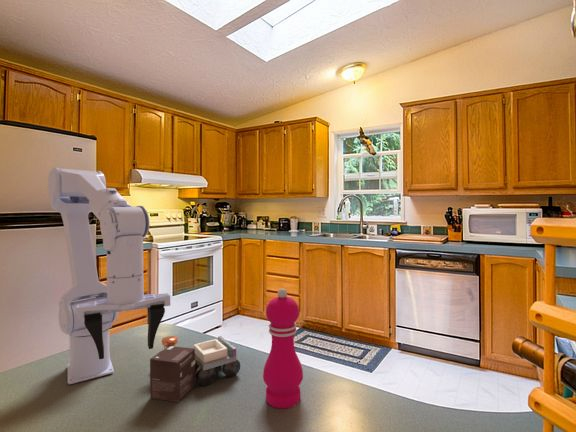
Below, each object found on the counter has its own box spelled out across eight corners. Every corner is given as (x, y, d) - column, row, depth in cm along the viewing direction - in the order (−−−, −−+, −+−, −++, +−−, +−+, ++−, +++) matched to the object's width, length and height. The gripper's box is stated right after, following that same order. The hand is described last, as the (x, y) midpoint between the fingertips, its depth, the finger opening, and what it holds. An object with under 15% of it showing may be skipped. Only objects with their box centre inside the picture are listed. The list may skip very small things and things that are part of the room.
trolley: (185, 371, 67) (185, 344, 67) (225, 360, 73) (224, 334, 73) (198, 388, 61) (198, 358, 61) (240, 374, 66) (240, 347, 66)
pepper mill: (297, 385, 62) (297, 283, 62) (307, 407, 55) (307, 292, 55) (260, 389, 60) (259, 285, 60) (266, 413, 53) (265, 294, 53)
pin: (160, 369, 68) (160, 338, 68) (175, 365, 70) (175, 334, 70) (164, 375, 66) (163, 343, 66) (179, 371, 68) (179, 339, 68)
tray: (193, 351, 67) (193, 344, 67) (216, 346, 70) (216, 338, 70) (203, 362, 63) (203, 354, 63) (227, 356, 65) (227, 348, 65)
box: (178, 403, 56) (178, 362, 56) (149, 398, 58) (148, 358, 58) (196, 385, 62) (195, 348, 62) (169, 381, 64) (168, 345, 64)
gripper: (74, 284, 49) (75, 372, 49) (173, 274, 56) (173, 350, 56) (77, 276, 55) (79, 354, 55) (166, 268, 62) (167, 337, 62)
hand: (126, 351), depth 56 cm, fingers open, 7 cm apart
